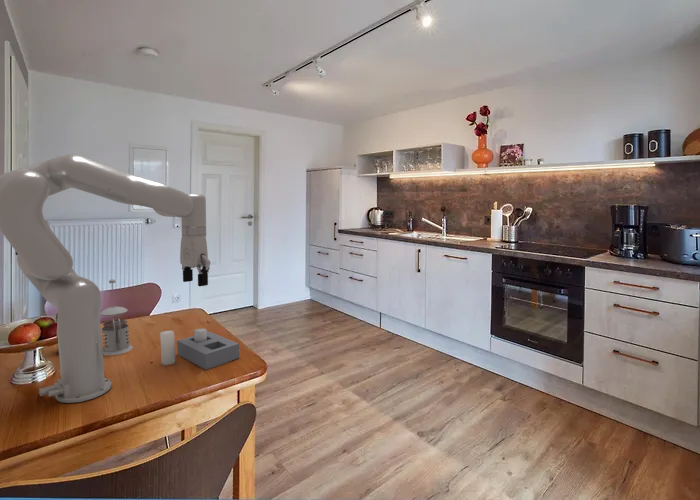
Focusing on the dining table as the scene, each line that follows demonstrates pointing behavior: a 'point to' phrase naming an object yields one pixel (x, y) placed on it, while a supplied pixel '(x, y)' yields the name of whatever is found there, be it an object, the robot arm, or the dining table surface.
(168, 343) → the peg
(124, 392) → the dining table surface
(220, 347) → the socket block
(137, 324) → the dining table surface
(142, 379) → the dining table surface
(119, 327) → the french press
